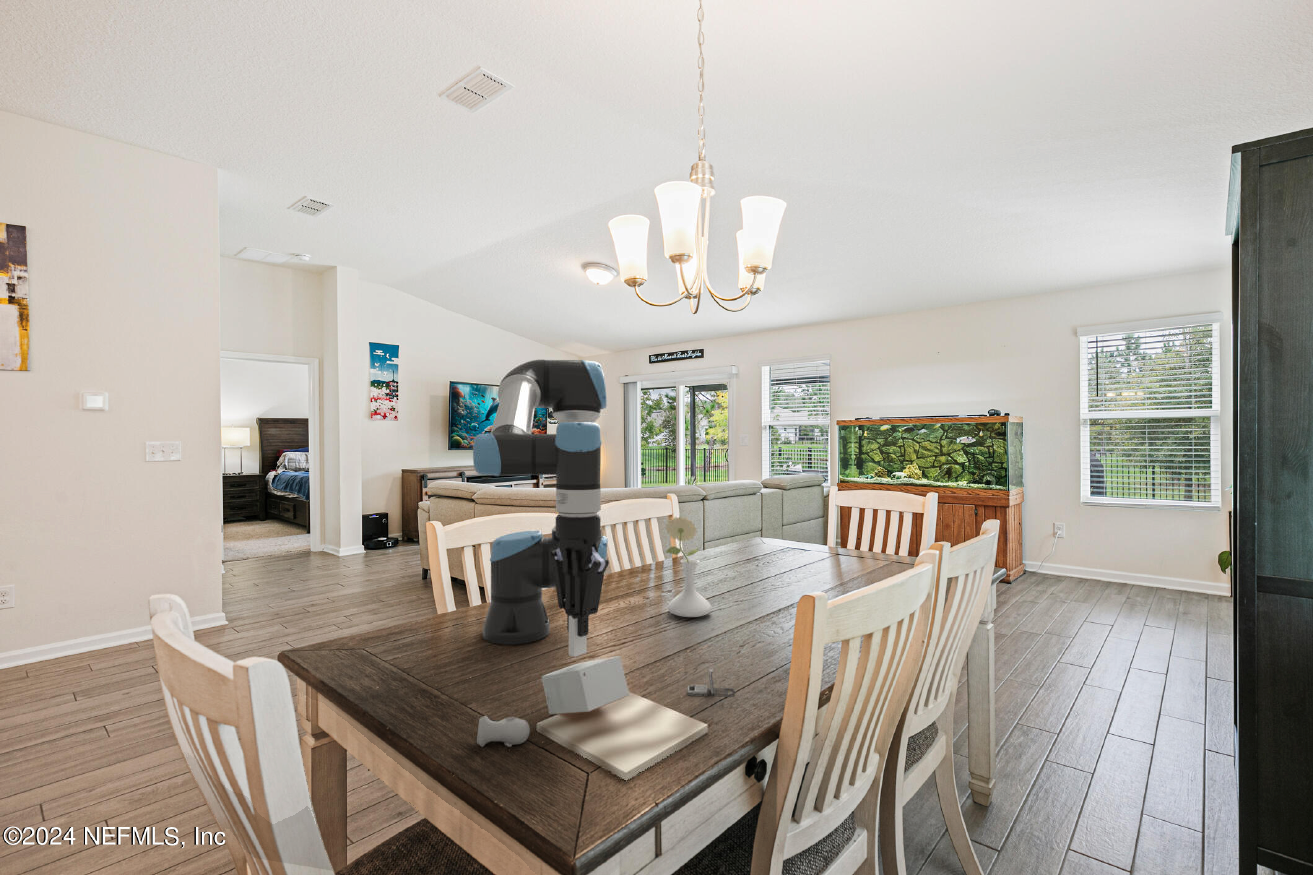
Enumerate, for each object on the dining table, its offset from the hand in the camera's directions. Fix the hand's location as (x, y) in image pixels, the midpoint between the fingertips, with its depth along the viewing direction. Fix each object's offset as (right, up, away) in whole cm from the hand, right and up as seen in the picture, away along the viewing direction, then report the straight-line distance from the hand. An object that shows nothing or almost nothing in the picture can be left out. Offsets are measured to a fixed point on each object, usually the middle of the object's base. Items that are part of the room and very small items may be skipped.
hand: (577, 653), depth 101 cm
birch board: (+8, -10, -7) cm, 14 cm away
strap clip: (+23, -10, +8) cm, 26 cm away
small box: (-2, -7, +2) cm, 7 cm away
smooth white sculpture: (-10, -10, -10) cm, 17 cm away
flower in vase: (+21, -10, +54) cm, 59 cm away
